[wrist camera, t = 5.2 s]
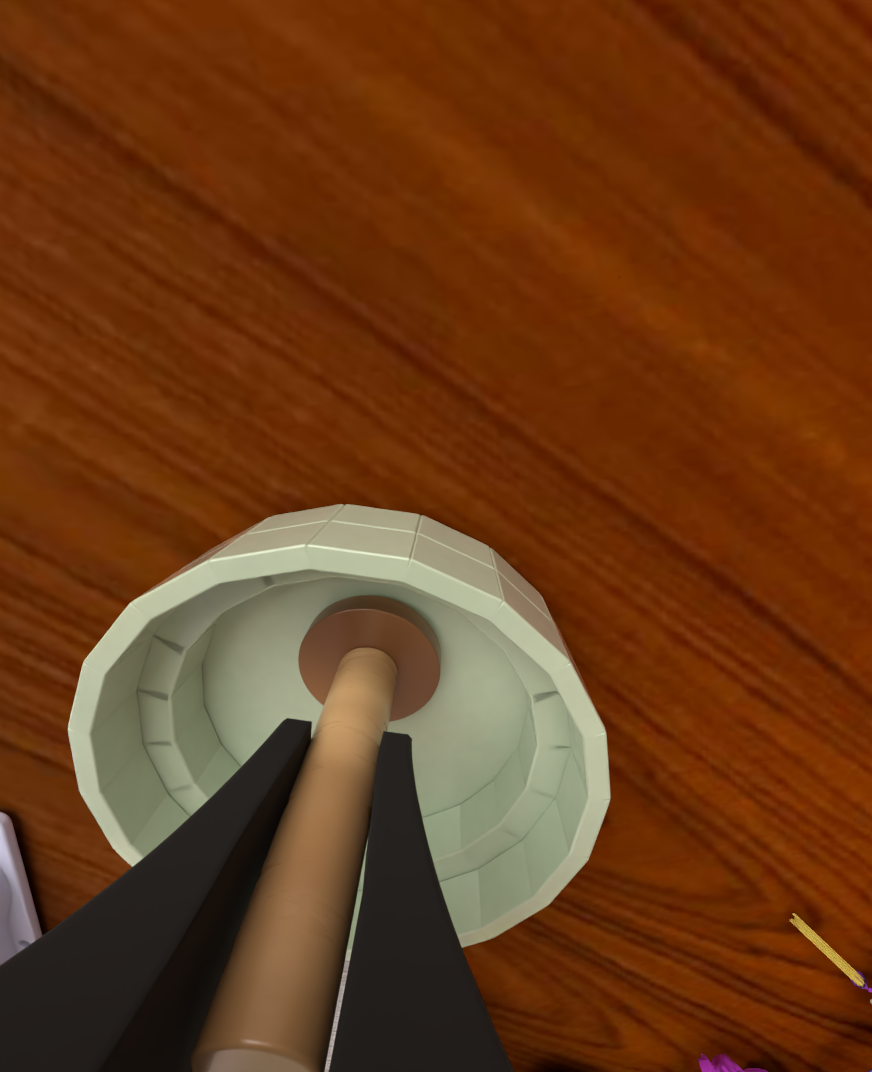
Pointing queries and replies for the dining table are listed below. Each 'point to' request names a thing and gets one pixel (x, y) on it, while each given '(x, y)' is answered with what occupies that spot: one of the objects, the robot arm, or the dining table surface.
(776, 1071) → the dining table surface
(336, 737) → the wooden peg
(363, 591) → the bowl
